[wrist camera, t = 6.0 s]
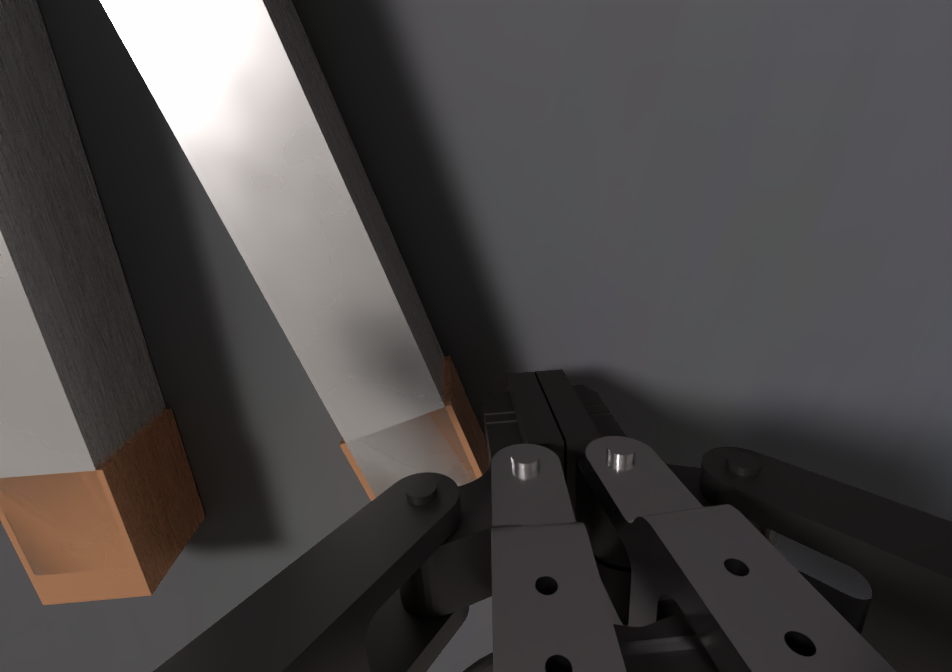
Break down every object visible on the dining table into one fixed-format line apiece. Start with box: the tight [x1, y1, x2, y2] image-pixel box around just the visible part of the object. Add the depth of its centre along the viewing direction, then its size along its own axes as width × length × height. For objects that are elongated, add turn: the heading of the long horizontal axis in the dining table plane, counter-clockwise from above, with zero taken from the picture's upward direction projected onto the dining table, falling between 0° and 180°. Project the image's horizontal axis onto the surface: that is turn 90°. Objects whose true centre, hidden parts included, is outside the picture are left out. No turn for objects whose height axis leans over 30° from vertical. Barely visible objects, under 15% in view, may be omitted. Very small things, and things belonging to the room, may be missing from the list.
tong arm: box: [100, 0, 488, 501], centre depth 10 cm, size 19×3×3 cm, turn 20°
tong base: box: [0, 0, 205, 605], centre depth 9 cm, size 22×6×4 cm, turn 3°
